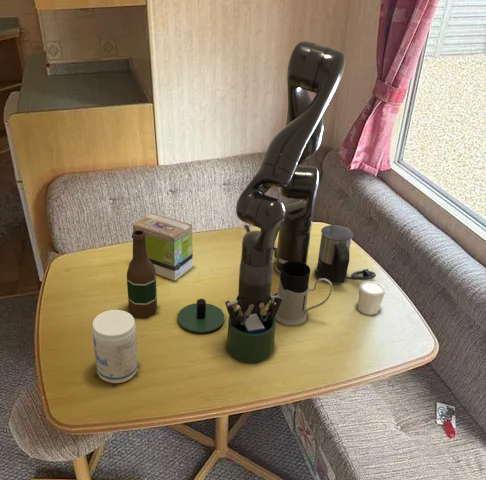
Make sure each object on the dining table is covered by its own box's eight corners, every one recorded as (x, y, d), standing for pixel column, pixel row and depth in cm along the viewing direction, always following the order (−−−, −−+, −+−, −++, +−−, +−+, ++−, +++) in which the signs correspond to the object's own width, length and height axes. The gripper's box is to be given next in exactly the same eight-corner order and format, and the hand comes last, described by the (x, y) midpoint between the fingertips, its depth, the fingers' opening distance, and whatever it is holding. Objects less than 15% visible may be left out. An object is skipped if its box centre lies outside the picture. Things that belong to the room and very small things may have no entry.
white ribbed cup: (381, 317, 149) (386, 296, 146) (355, 314, 150) (359, 293, 147) (380, 303, 155) (384, 282, 151) (355, 299, 156) (359, 279, 152)
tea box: (193, 267, 169) (193, 224, 161) (174, 282, 162) (173, 238, 154) (154, 252, 176) (152, 210, 168) (134, 266, 169) (131, 223, 160)
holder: (278, 302, 154) (283, 256, 146) (329, 314, 150) (337, 268, 142) (269, 320, 147) (274, 273, 139) (322, 333, 143) (330, 285, 135)
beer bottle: (162, 306, 152) (160, 229, 139) (148, 321, 146) (144, 243, 133) (138, 298, 155) (133, 222, 142) (123, 314, 149) (116, 235, 136)
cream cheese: (238, 328, 138) (239, 315, 136) (255, 325, 139) (256, 313, 137) (247, 344, 133) (247, 331, 131) (264, 341, 134) (265, 328, 132)
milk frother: (309, 270, 169) (314, 227, 160) (352, 260, 174) (359, 218, 166) (335, 295, 158) (343, 250, 150) (380, 284, 163) (390, 240, 155)
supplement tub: (88, 371, 130) (81, 322, 122) (119, 351, 136) (114, 303, 128) (116, 391, 125) (111, 341, 117) (146, 369, 131) (143, 320, 123)
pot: (221, 336, 141) (222, 310, 137) (263, 329, 144) (265, 303, 140) (235, 366, 132) (237, 338, 128) (279, 358, 135) (283, 331, 130)
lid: (173, 310, 151) (172, 291, 147) (216, 303, 154) (217, 285, 150) (184, 338, 141) (183, 319, 137) (230, 330, 144) (231, 311, 140)
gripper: (278, 262, 131) (272, 319, 141) (221, 270, 128) (219, 328, 137) (290, 279, 125) (284, 338, 135) (230, 288, 122) (228, 348, 131)
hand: (251, 333), depth 136 cm, fingers closed on cream cheese, 4 cm apart
